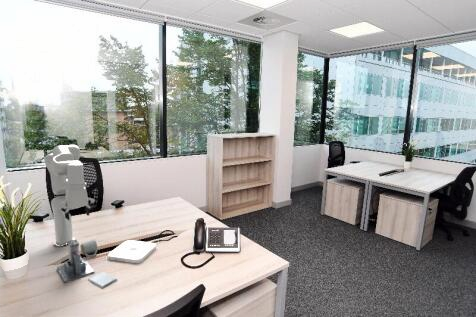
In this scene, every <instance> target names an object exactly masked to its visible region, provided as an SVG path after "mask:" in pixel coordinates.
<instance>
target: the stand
mask: <svg viewBox="0 0 476 317" xmlns="http://www.w3.org/2000/svg"><path fill="white" fill-rule="evenodd" d="M73 256H74V259H75V265H73V266H70V262H69V260H66V261H63V264H62V265H59V266H58V265H57V266H56V270H57V272H58V273H59V276H60V278H61V279H62V281H63V282H64V283H63V284H66V283H69V282H72V281H75V280H78V279H80V278H83V277H86V276H89V275H92V274H95V270H94V269H93V267H91V266H90V264H89V262H88V261H87V260H86V259H85V258H82V256H81V253H80V252H79V253H76V254H73Z"/></svg>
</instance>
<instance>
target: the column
mask: <svg viewBox="0 0 476 317" xmlns="http://www.w3.org/2000/svg"><path fill="white" fill-rule="evenodd" d="M79 246H80V242H78V240H77V239H75V240H72V241H68V245H67V247H68V261H69V262H70V266H73V265H75V259H74V256H73V254H76V253H79V254H80V247H79Z"/></svg>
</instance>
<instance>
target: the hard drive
mask: <svg viewBox="0 0 476 317" xmlns="http://www.w3.org/2000/svg"><path fill="white" fill-rule="evenodd" d="M87 280H88V281H89V282H91V283H92V284H93V285H96V286H97V287H100V288H102V289H104V288H106V287H108V286H109V285H111V284H113V283H115V282H116V281H118V279H117V278H116V277H114V276H112V275H110V274H108V273H106V272H104V271H101V272H98V273H97V274H95V275H92V276H91V277H88V279H87Z"/></svg>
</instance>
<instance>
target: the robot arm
mask: <svg viewBox="0 0 476 317" xmlns="http://www.w3.org/2000/svg"><path fill="white" fill-rule="evenodd" d="M51 152H52V153H49V154H46V155H45V156H44V164H45V166H46V168H47V170H48V172H49V175H50V181H51V183H50V184H51V189H52V192H53V194H54V195H61V196H56V197H54V198H52V199H51V201H50V206H51V209H52V215H53V221H54V222H53V223H54V234H55V240H56V243H54V244H55V245H56V244H57V245H66V243H67V244H68V241H72V240H76V237H74V236H73V224H72V223H73V222H72V215H71V214H70V212H69V211H70V210H75V209H79V208H81V207H83V208H84V207H85V214H86V216H90V214H91V208H92V206H93V205H94V203H95V201H96V200H95V199H94V198H91V197H88V192H87V189H86V188H87V187H85V186H88V183H87V182H85V177H84V164H83V162H82V161H81V160H79V159H80V158H81V154H82V153H81V149H80V147H79V146H78V145H76V144H69V145H68V144H67V145H63V144H61V145H57V146H55V147H53V149H52V151H51ZM89 201H90V203H89ZM73 237H74V238H73ZM66 246H67V245H66Z"/></svg>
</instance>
